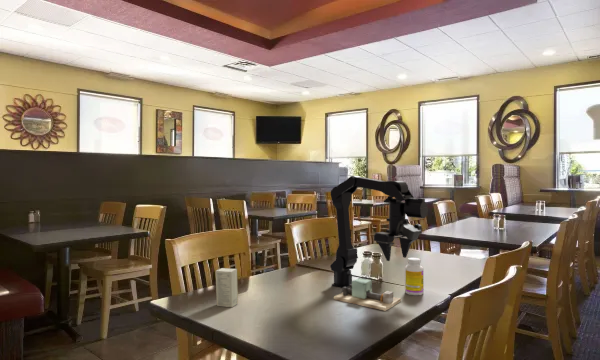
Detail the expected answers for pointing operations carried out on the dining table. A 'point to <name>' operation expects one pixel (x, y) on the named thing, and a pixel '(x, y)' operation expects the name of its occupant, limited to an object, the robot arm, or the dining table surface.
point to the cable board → (369, 299)
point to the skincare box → (226, 287)
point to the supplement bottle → (414, 277)
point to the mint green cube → (361, 287)
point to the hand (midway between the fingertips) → (396, 259)
